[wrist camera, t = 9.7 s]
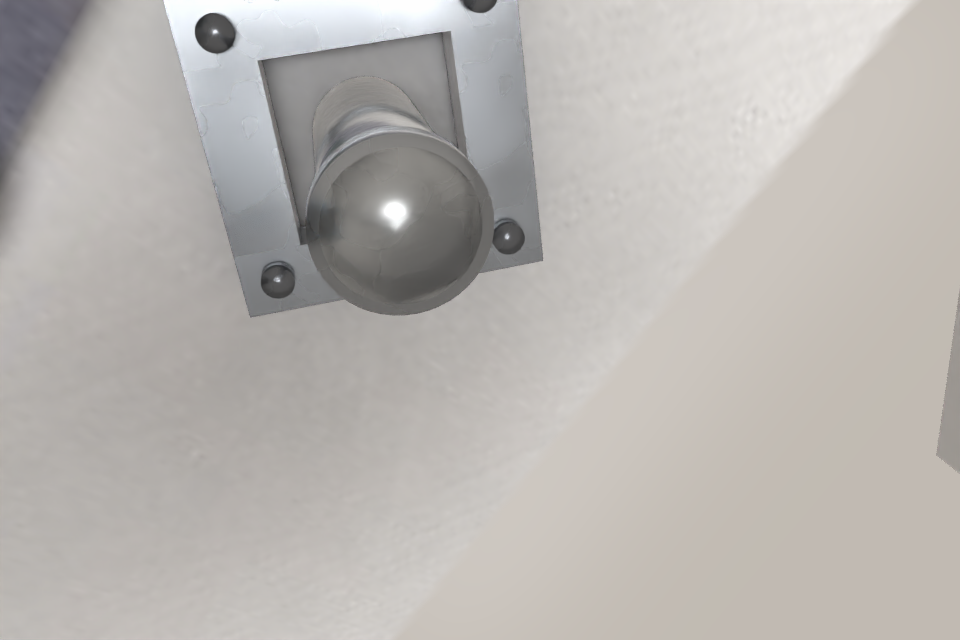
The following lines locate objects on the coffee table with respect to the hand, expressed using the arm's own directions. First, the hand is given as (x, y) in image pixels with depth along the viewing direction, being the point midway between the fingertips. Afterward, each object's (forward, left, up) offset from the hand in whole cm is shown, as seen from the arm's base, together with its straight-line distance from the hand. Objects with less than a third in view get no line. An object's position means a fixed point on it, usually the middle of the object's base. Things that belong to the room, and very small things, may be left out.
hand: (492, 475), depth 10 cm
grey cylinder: (0, 0, -23) cm, 23 cm away
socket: (0, 0, -23) cm, 23 cm away
